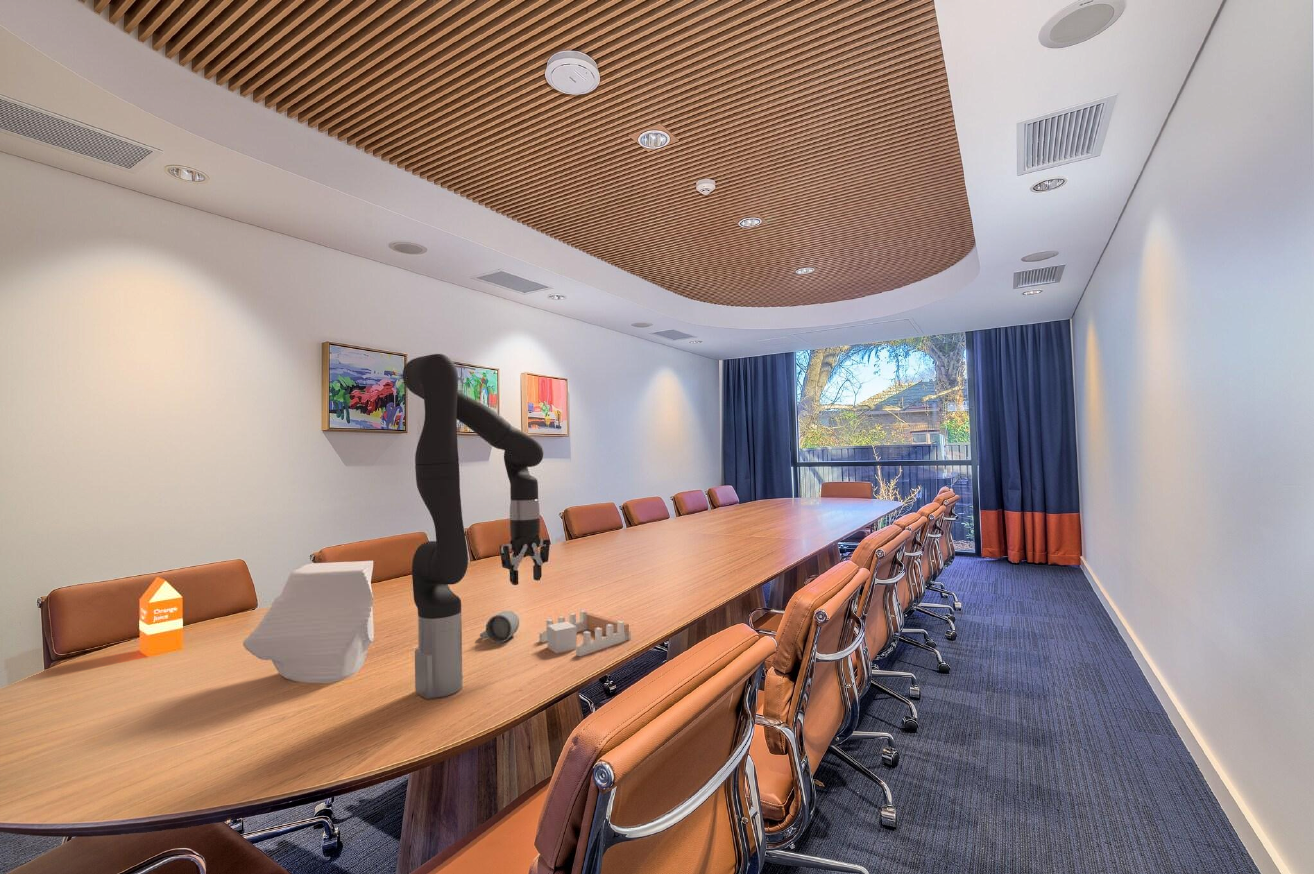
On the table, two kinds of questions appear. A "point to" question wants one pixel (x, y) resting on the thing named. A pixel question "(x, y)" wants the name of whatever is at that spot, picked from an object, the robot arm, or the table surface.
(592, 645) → the notched wall frame
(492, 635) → the ceramic mug
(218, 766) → the table surface
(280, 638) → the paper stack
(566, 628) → the white cube
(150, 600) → the orange juice
